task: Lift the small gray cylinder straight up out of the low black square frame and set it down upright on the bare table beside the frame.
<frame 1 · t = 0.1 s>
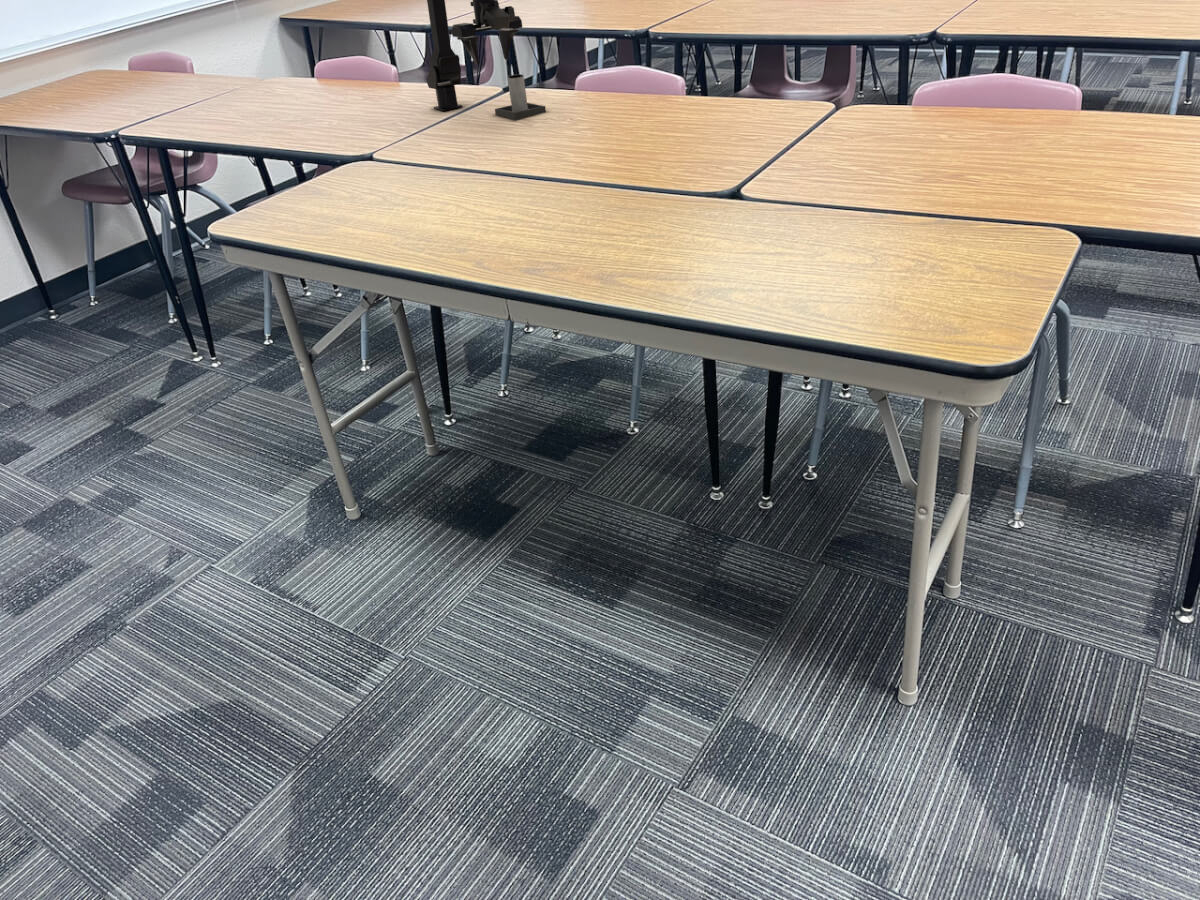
hand: (491, 62, 227), 15 cm above the table, tool pointing down, fingers open, 9 cm apart
black square frame: (520, 114, 242), on the table
gray cylinder: (520, 115, 242), resting in black square frame
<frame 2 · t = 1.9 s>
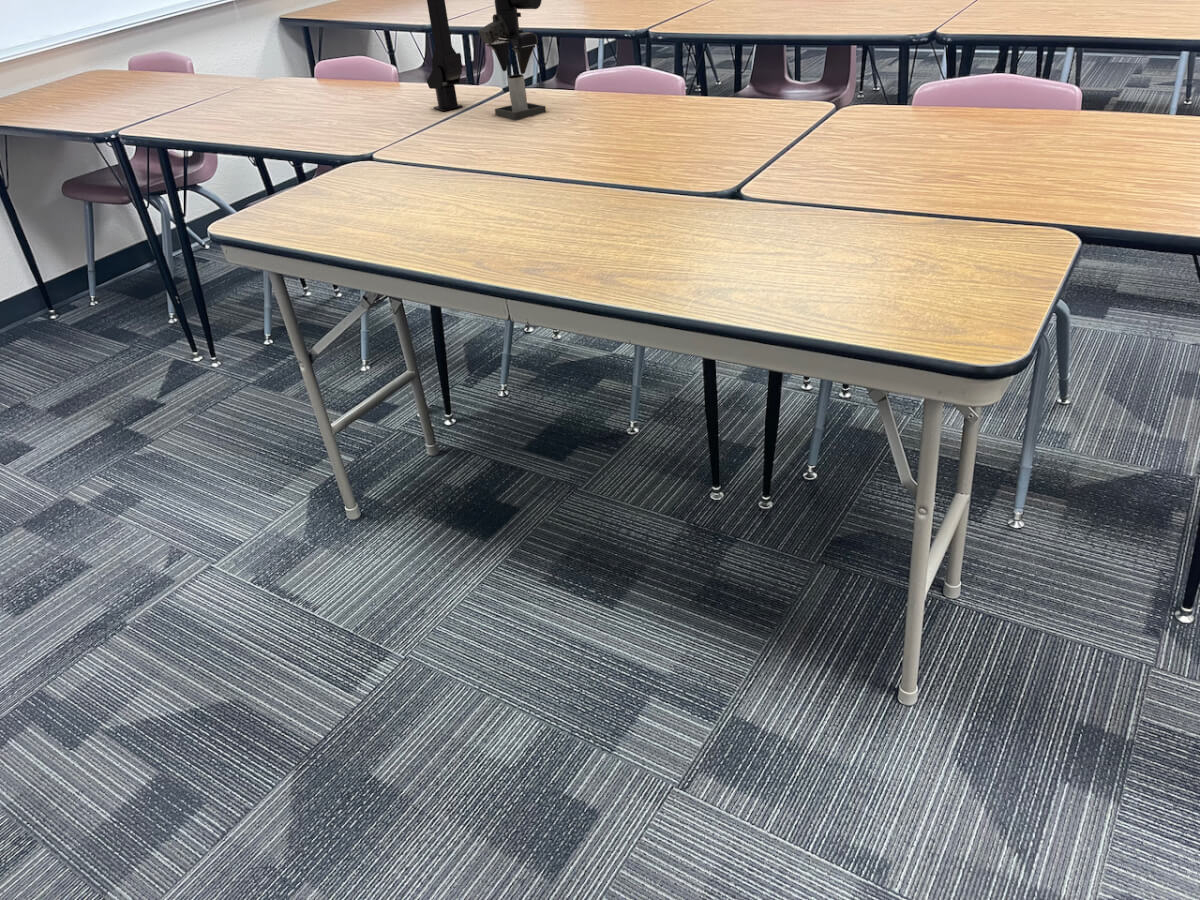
hand: (513, 72, 235), 11 cm above the table, tool pointing down, fingers open, 9 cm apart
nothing on the table moved.
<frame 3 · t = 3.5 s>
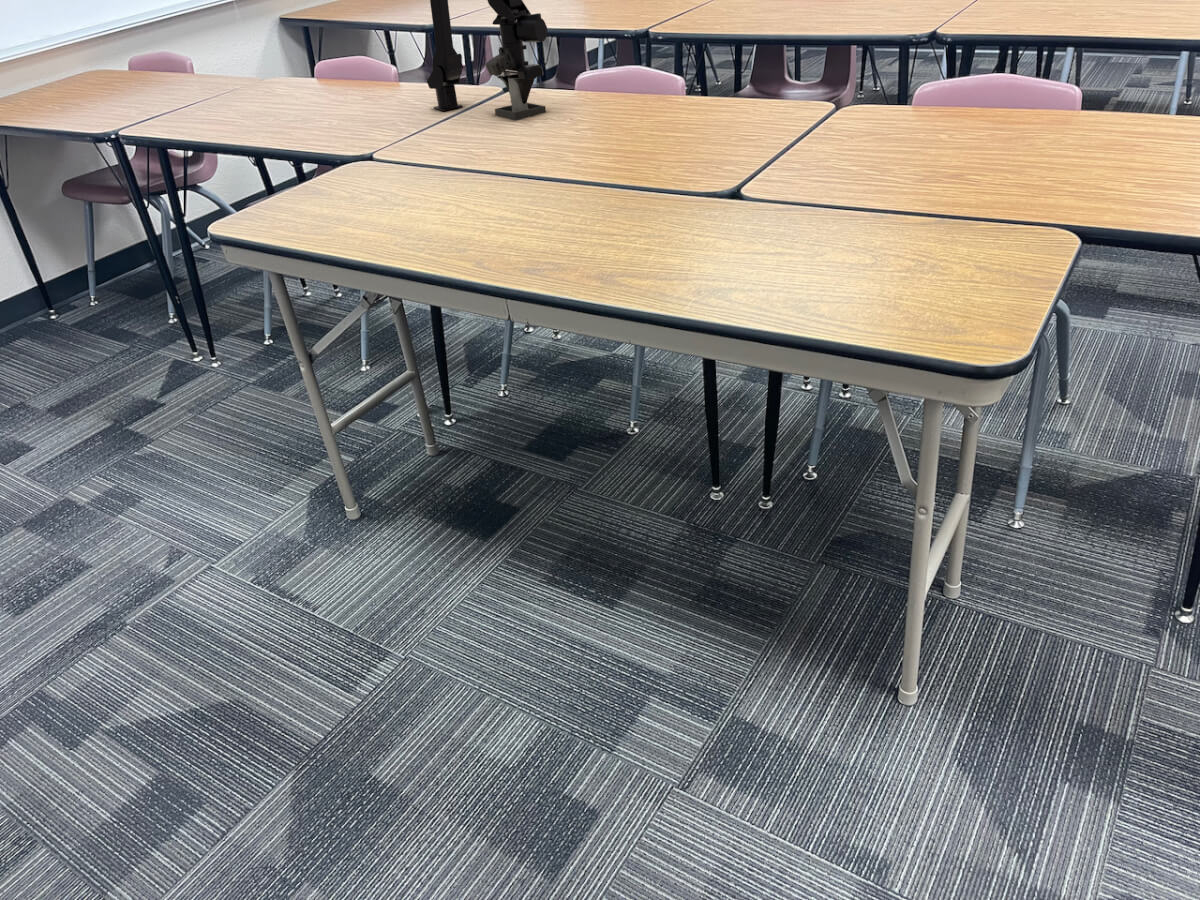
hand: (519, 102, 240), 3 cm above the table, tool pointing down, fingers closed on gray cylinder, 4 cm apart
gray cylinder: (520, 115, 242), resting in black square frame, touching gripper
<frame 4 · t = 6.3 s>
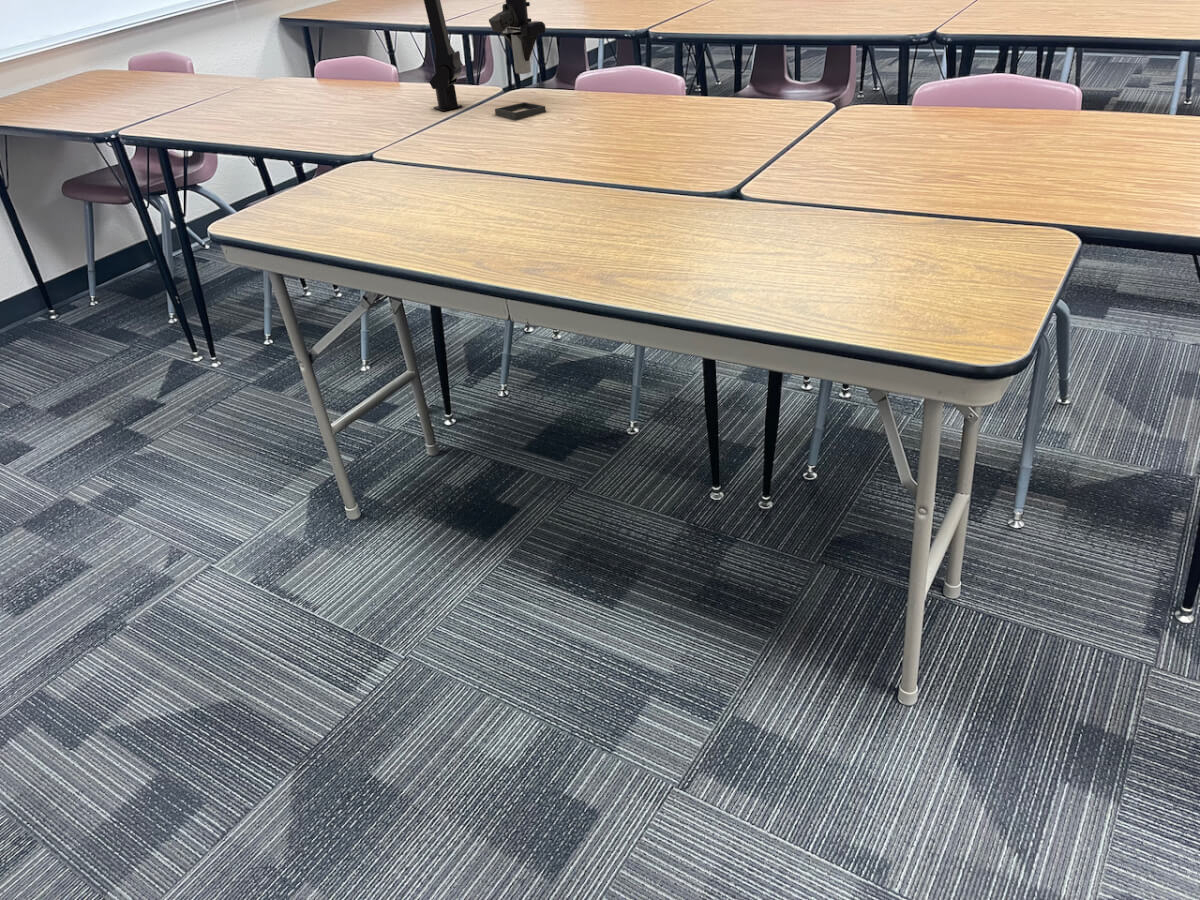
hand: (522, 60, 243), 13 cm above the table, tool pointing down, fingers closed on gray cylinder, 4 cm apart
gray cylinder: (523, 72, 245), point 9 cm above the table, touching gripper
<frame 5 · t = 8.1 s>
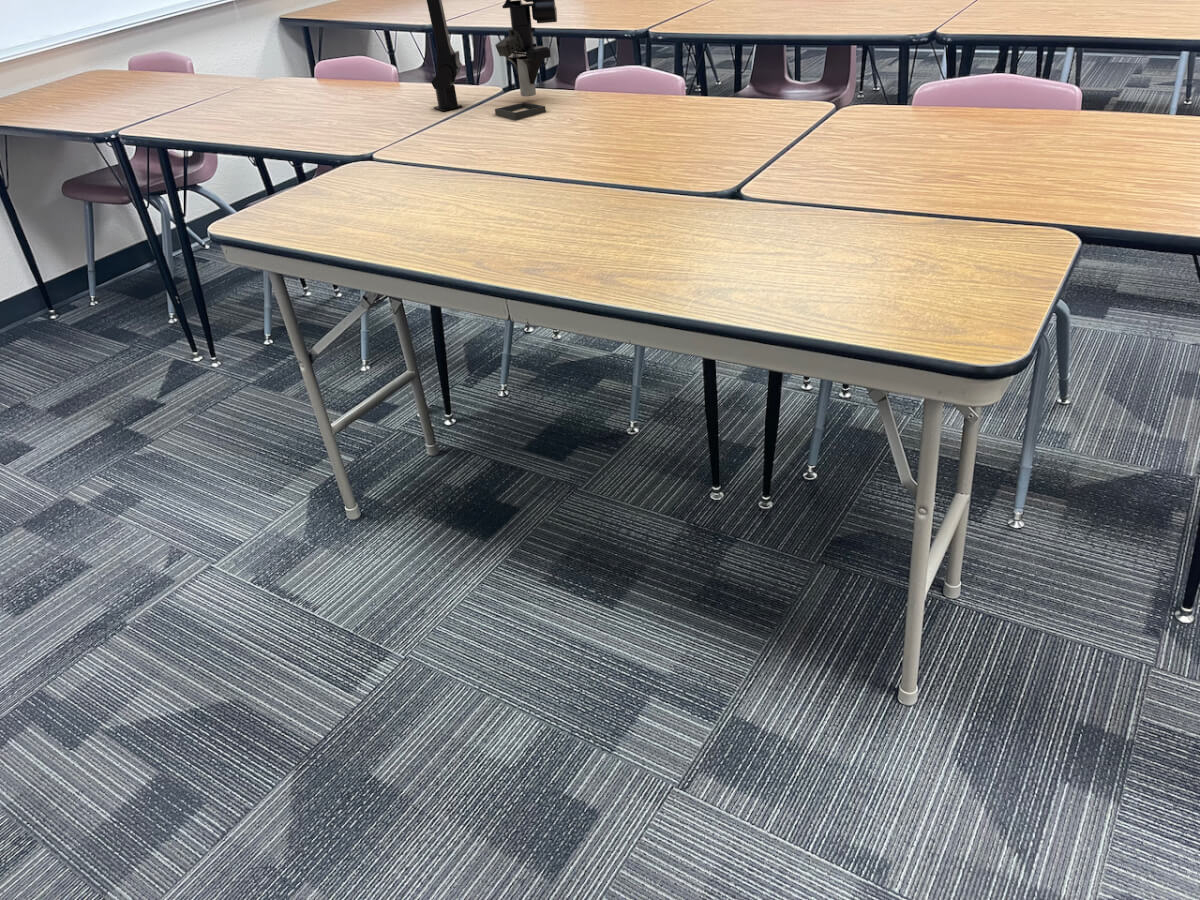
hand: (527, 83, 250), 6 cm above the table, tool pointing down, fingers closed on gray cylinder, 4 cm apart
gray cylinder: (528, 95, 252), point 3 cm above the table, touching gripper
when the fingers open (3 cm above the table, at t = 9.2 s): gray cylinder stays where it is, on the table.
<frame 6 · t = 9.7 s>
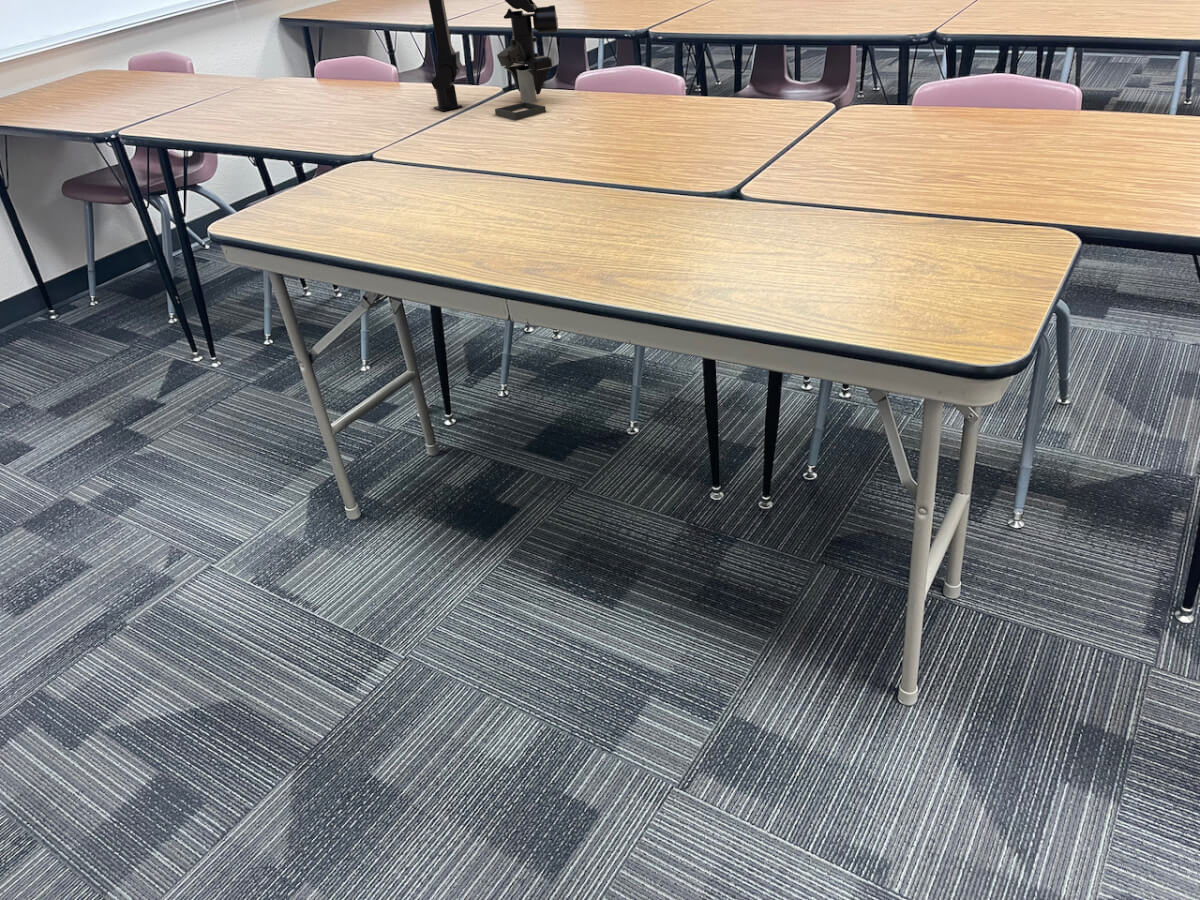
hand: (529, 92, 251), 3 cm above the table, tool pointing down, fingers open, 9 cm apart
gray cylinder: (529, 104, 253), on the table
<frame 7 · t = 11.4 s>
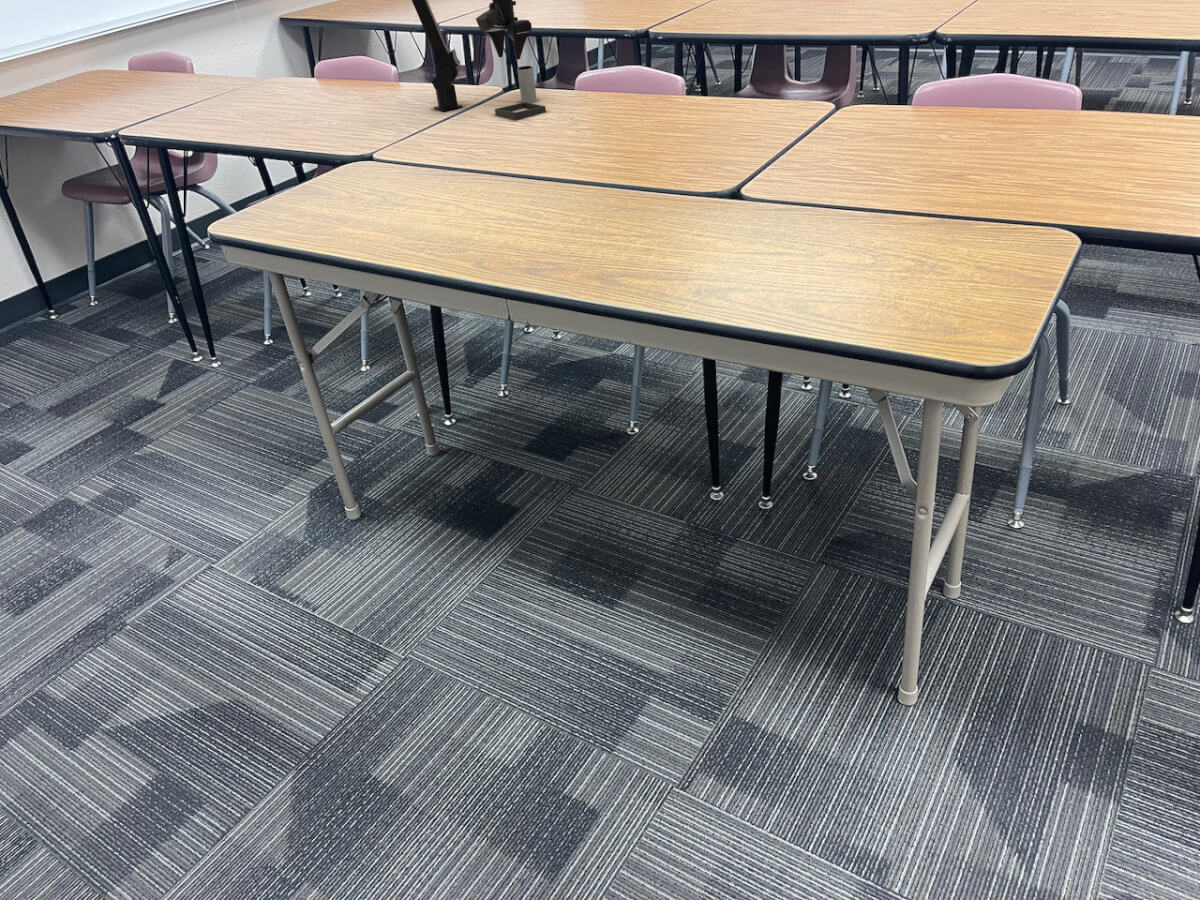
hand: (509, 58, 247), 13 cm above the table, tool pointing down, fingers open, 9 cm apart
nothing on the table moved.
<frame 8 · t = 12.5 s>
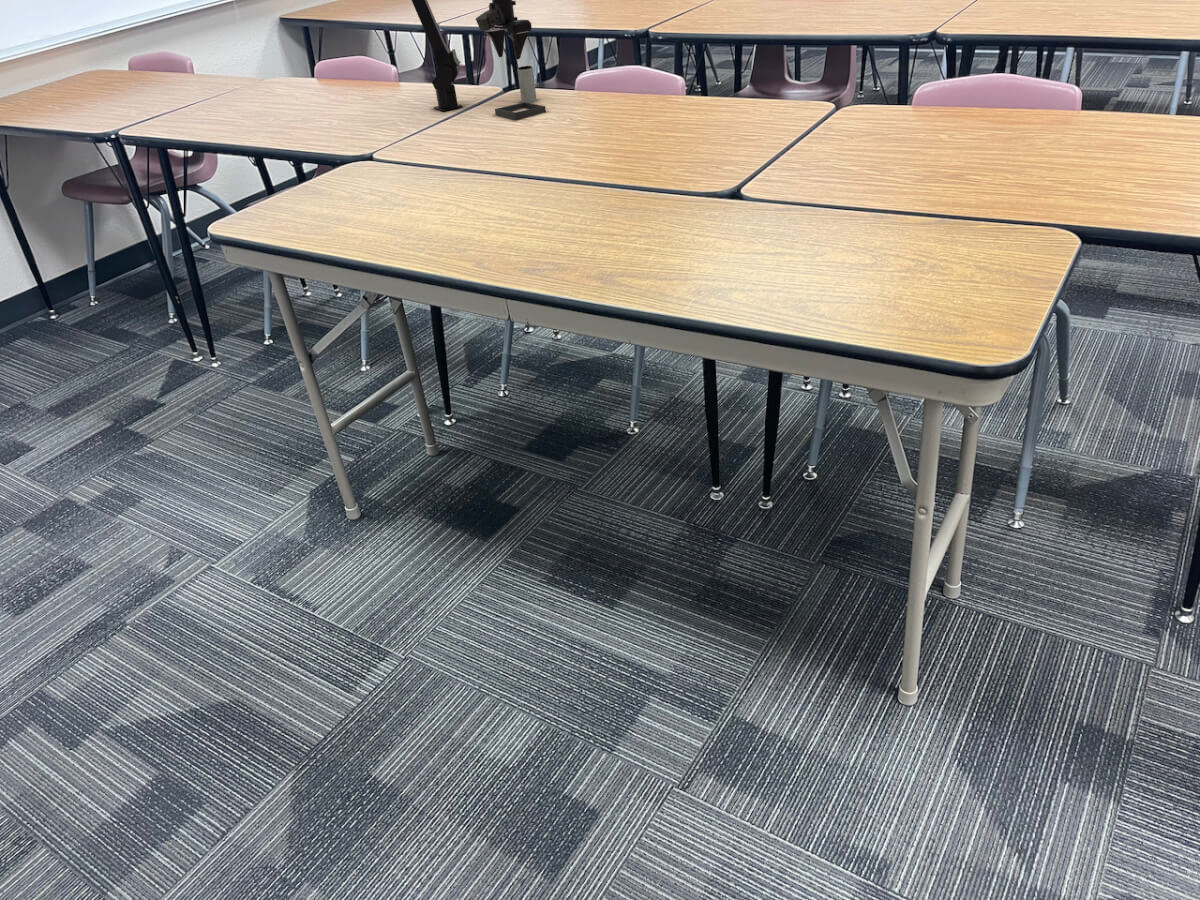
hand: (509, 58, 247), 13 cm above the table, tool pointing down, fingers open, 9 cm apart
nothing on the table moved.
at the end: gray cylinder inside the target area (0.3 cm from its centre), on the table; gray cylinder tilted 3°; the gripper is holding nothing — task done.
